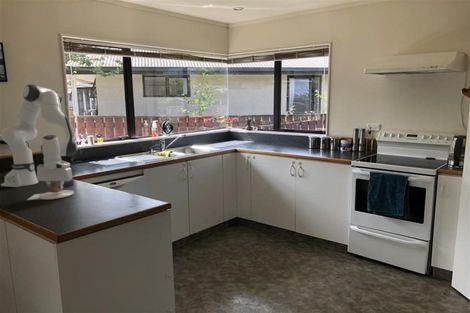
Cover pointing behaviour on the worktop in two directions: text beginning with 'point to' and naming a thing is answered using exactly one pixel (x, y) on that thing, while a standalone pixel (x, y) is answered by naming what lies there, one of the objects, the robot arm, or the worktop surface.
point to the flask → (68, 183)
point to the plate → (56, 194)
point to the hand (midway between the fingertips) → (55, 188)
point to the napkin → (34, 197)
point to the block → (54, 187)
